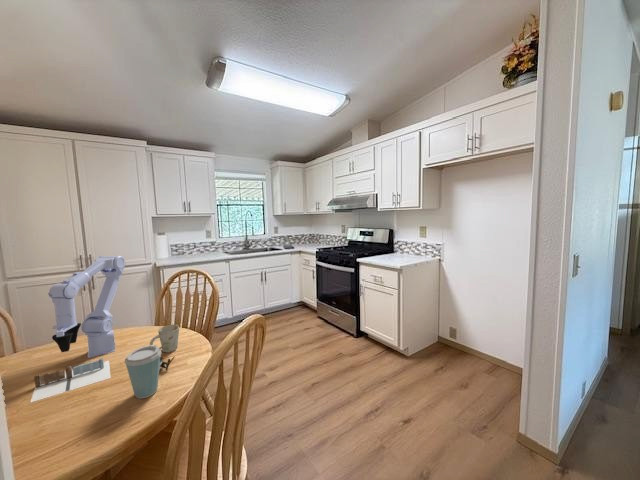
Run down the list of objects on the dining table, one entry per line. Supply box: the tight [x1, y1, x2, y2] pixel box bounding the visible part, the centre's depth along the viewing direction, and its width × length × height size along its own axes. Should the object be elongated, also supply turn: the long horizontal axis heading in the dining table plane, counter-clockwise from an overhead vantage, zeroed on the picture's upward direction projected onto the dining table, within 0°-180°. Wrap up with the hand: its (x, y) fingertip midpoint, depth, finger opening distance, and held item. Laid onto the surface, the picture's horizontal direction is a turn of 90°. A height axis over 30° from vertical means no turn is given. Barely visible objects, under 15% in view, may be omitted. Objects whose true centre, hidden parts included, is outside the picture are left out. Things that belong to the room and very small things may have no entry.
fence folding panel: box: [72, 357, 104, 375], centre depth 106 cm, size 9×1×4 cm, turn 130°
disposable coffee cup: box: [124, 344, 163, 399], centre depth 93 cm, size 11×11×15 cm
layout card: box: [30, 360, 112, 404], centre depth 102 cm, size 21×16×1 cm
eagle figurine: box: [160, 355, 175, 372], centre depth 108 cm, size 8×7×9 cm
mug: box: [149, 324, 180, 353], centre depth 122 cm, size 8×13×10 cm, turn 148°
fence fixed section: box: [34, 365, 73, 388], centre depth 99 cm, size 10×2×4 cm, turn 130°
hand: (69, 347), depth 107 cm, fingers open, 7 cm apart
